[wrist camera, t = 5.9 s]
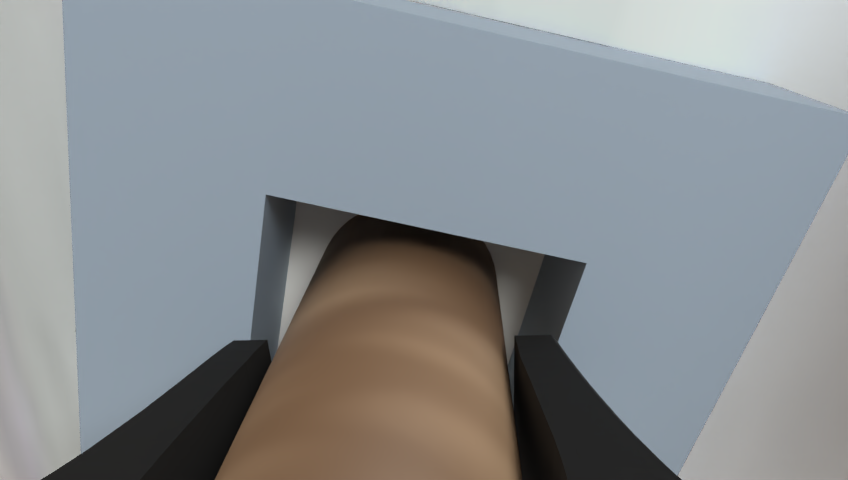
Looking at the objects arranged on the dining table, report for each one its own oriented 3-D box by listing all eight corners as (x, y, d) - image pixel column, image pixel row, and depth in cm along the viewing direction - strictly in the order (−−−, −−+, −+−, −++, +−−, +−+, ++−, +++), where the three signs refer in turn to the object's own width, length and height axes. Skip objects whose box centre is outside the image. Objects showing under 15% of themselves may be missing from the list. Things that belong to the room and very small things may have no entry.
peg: (498, 200, 13) (555, 512, 5) (494, 358, 14) (534, 765, 7) (311, 202, 13) (116, 504, 6) (328, 357, 14) (196, 749, 7)
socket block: (770, 83, 12) (866, 118, 9) (576, 512, 17) (601, 619, 14) (156, -59, 11) (59, -68, 8) (146, 428, 16) (83, 523, 13)
